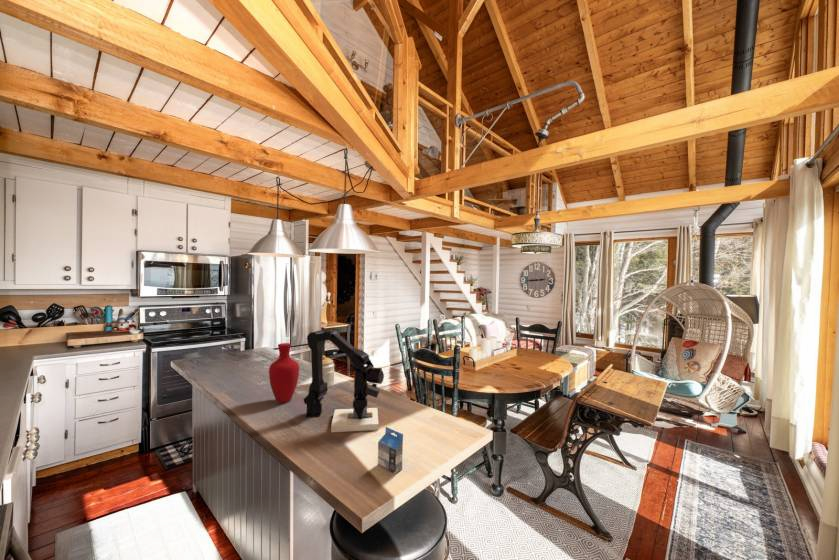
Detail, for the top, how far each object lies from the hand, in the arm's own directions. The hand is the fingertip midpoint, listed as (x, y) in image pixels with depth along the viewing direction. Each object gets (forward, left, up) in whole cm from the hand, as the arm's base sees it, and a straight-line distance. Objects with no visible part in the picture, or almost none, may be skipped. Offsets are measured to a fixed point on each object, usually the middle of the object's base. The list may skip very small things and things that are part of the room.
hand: (360, 415), depth 155 cm
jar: (-23, +55, -3) cm, 60 cm away
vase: (-40, +30, -3) cm, 50 cm away
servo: (0, 0, -3) cm, 3 cm away
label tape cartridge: (+11, -38, -3) cm, 40 cm away
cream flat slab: (-2, 0, -3) cm, 4 cm away
